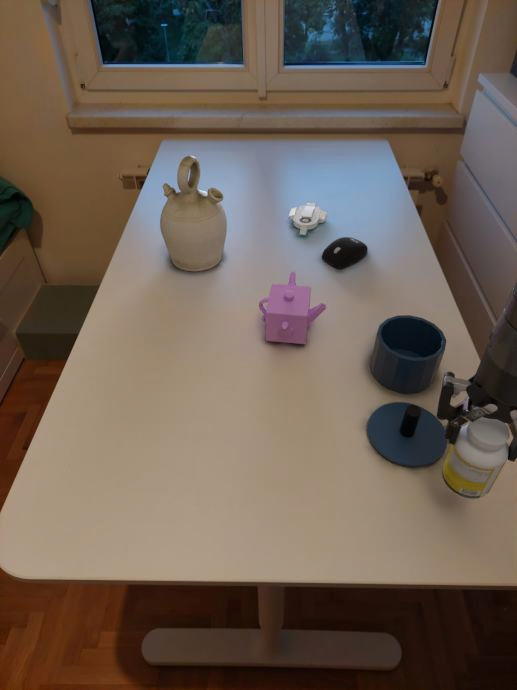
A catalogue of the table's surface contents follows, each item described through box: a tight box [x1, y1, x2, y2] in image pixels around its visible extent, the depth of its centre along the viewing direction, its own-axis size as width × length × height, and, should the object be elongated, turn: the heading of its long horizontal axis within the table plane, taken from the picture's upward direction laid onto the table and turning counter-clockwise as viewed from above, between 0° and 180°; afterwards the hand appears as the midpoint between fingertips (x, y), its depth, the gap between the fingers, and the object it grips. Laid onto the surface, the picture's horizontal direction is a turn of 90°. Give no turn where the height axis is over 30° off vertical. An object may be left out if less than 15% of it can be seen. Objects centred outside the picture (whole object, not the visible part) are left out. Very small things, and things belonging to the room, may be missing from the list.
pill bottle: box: [441, 417, 510, 500], centre depth 65 cm, size 6×6×12 cm
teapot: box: [258, 271, 327, 345], centre depth 99 cm, size 18×13×10 cm
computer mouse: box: [321, 236, 369, 270], centre depth 121 cm, size 8×12×4 cm, turn 129°
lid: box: [366, 401, 448, 468], centre depth 81 cm, size 13×13×7 cm
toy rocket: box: [288, 201, 328, 237], centre depth 134 cm, size 16×10×2 cm, turn 166°
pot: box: [370, 314, 447, 395], centre depth 91 cm, size 12×12×8 cm
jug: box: [159, 155, 228, 272], centre depth 114 cm, size 15×16×25 cm
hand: (481, 447), depth 63 cm, fingers closed on pill bottle, 6 cm apart
